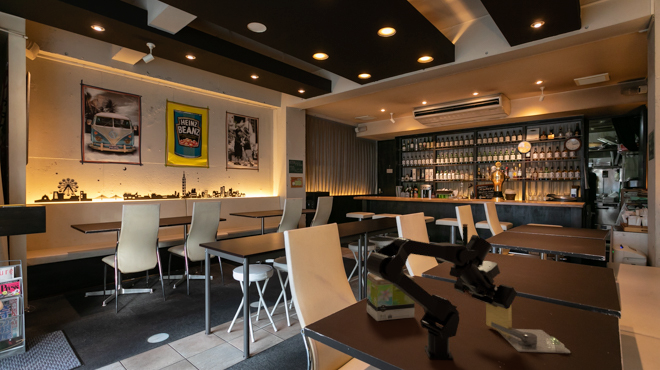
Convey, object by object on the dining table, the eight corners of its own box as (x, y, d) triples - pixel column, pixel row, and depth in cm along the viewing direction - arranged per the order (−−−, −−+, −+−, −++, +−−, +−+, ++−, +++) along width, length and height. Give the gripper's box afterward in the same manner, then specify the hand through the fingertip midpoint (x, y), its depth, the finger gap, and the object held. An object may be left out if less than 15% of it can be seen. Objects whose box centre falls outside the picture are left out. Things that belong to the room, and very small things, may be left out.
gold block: (540, 343, 94) (539, 305, 95) (531, 346, 93) (530, 307, 93) (491, 323, 109) (491, 290, 109) (483, 325, 107) (483, 292, 107)
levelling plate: (570, 353, 91) (570, 342, 91) (518, 351, 92) (518, 341, 92) (541, 331, 105) (541, 322, 105) (496, 330, 106) (496, 321, 106)
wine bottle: (450, 287, 152) (449, 224, 153) (463, 284, 158) (462, 223, 159) (465, 291, 146) (464, 225, 147) (478, 288, 152) (477, 224, 152)
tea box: (377, 322, 112) (377, 280, 113) (366, 312, 122) (366, 273, 122) (415, 317, 117) (415, 276, 117) (402, 308, 126) (401, 270, 126)
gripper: (512, 259, 91) (537, 293, 95) (459, 248, 108) (483, 278, 112) (493, 291, 87) (520, 325, 92) (442, 275, 104) (467, 304, 109)
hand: (496, 305), depth 101 cm, fingers closed
